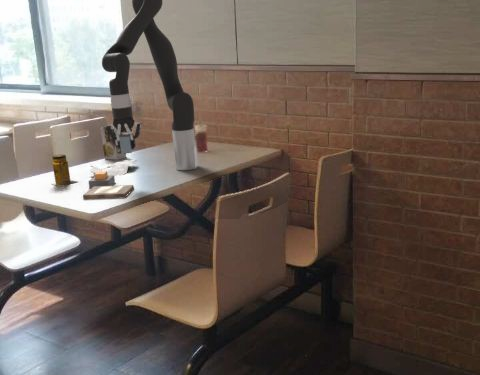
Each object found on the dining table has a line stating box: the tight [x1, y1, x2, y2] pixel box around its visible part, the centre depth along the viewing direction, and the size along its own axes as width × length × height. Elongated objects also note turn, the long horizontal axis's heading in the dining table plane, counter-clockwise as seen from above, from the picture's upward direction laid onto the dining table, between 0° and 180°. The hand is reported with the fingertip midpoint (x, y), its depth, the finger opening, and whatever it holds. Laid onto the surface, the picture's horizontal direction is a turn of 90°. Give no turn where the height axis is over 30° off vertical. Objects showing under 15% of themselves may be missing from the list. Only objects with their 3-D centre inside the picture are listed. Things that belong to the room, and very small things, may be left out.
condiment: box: [52, 154, 79, 187], centre depth 246 cm, size 7×8×12 cm
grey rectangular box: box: [119, 132, 135, 154], centre depth 232 cm, size 4×4×7 cm
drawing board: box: [82, 184, 135, 200], centre depth 226 cm, size 16×12×2 cm
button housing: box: [88, 175, 116, 189], centre depth 239 cm, size 8×8×3 cm
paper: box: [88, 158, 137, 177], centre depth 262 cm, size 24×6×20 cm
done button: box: [93, 170, 108, 180], centre depth 238 cm, size 4×4×3 cm
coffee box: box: [100, 124, 127, 161], centre depth 288 cm, size 9×6×16 cm
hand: (127, 149), depth 233 cm, fingers closed on grey rectangular box, 4 cm apart
